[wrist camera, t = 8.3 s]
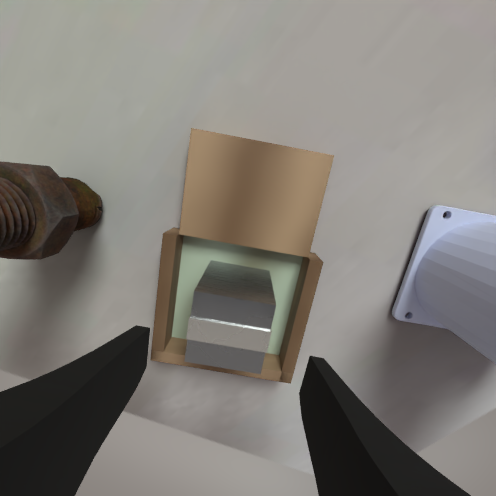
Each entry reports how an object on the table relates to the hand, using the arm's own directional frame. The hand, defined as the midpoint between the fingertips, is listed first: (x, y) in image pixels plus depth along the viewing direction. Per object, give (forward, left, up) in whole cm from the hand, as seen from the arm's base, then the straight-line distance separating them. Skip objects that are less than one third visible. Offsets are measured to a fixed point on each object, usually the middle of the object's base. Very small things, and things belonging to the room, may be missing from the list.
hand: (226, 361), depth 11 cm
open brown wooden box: (0, -3, -7) cm, 7 cm away
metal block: (0, 0, -7) cm, 7 cm away
